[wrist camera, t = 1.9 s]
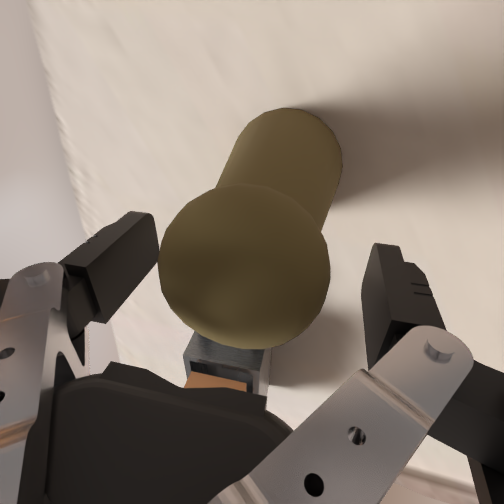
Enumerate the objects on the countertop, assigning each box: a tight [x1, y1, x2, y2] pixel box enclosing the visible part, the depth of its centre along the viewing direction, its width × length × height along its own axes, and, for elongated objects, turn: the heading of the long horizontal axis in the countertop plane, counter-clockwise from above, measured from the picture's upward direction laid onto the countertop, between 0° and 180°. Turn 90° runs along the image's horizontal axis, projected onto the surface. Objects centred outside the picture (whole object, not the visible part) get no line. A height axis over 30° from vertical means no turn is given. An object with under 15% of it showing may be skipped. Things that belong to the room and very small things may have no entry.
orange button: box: [184, 371, 246, 392], centre depth 21 cm, size 8×4×2 cm, turn 0°
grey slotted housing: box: [183, 331, 272, 396], centre depth 23 cm, size 14×5×6 cm, turn 0°
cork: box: [157, 108, 342, 349], centre depth 13 cm, size 6×6×11 cm
